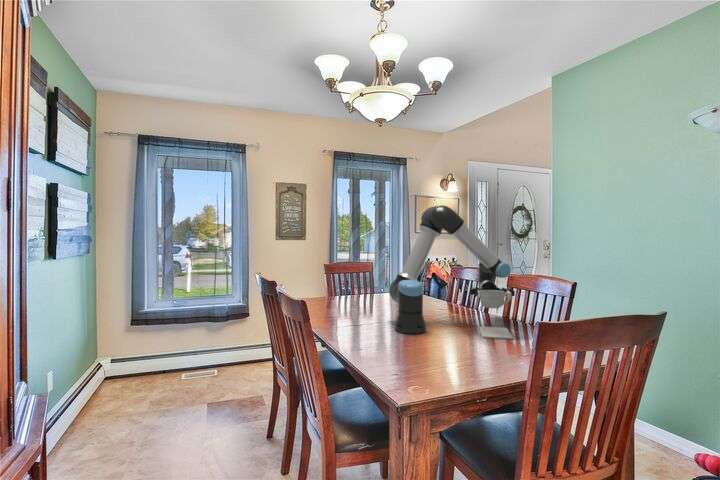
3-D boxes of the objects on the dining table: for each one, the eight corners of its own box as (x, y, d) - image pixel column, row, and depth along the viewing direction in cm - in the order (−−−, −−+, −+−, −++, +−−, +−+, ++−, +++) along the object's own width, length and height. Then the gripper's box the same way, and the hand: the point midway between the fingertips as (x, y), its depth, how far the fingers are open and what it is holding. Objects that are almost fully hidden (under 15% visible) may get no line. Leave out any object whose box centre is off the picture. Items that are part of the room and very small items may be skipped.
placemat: (482, 338, 166) (482, 336, 166) (478, 327, 185) (478, 326, 185) (513, 339, 164) (513, 338, 164) (506, 328, 182) (506, 327, 182)
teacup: (475, 307, 173) (475, 290, 173) (487, 304, 181) (487, 287, 181) (504, 312, 163) (504, 293, 163) (515, 308, 171) (515, 290, 170)
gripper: (514, 296, 190) (523, 304, 169) (463, 295, 195) (466, 302, 174) (514, 281, 190) (523, 287, 169) (463, 280, 195) (466, 286, 174)
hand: (494, 295), depth 171 cm, fingers closed on teacup, 13 cm apart
